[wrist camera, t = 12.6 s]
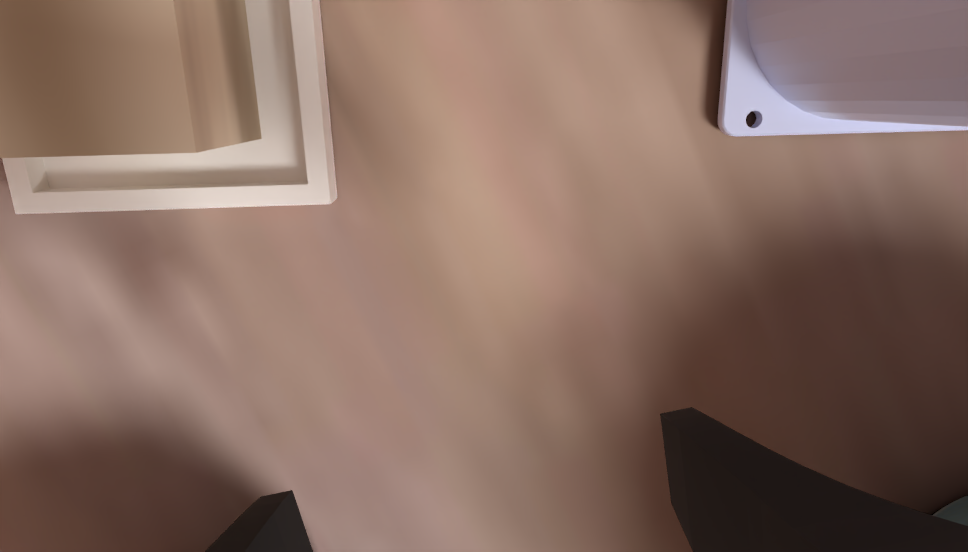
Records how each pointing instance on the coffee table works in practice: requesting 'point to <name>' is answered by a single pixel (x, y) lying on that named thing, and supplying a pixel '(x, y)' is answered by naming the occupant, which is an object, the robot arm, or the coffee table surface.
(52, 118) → the plain cube
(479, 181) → the coffee table surface
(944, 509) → the teal round bowl
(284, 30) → the sorting tray
